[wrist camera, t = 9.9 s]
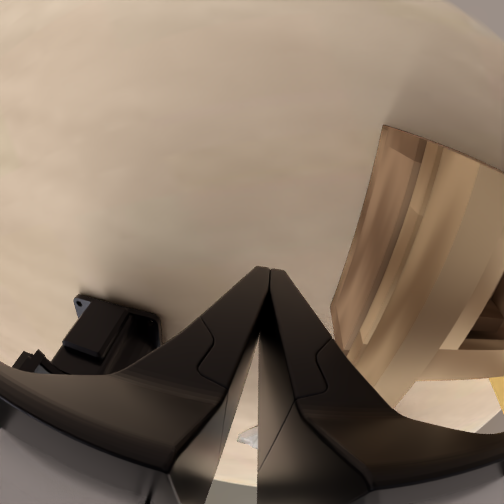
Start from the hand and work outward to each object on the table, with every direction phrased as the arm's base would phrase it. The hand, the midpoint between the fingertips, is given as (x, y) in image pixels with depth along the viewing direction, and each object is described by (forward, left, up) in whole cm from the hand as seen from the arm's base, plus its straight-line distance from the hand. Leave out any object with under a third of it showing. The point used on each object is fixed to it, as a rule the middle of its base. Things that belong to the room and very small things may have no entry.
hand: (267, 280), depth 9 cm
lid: (0, -11, -1) cm, 11 cm away
